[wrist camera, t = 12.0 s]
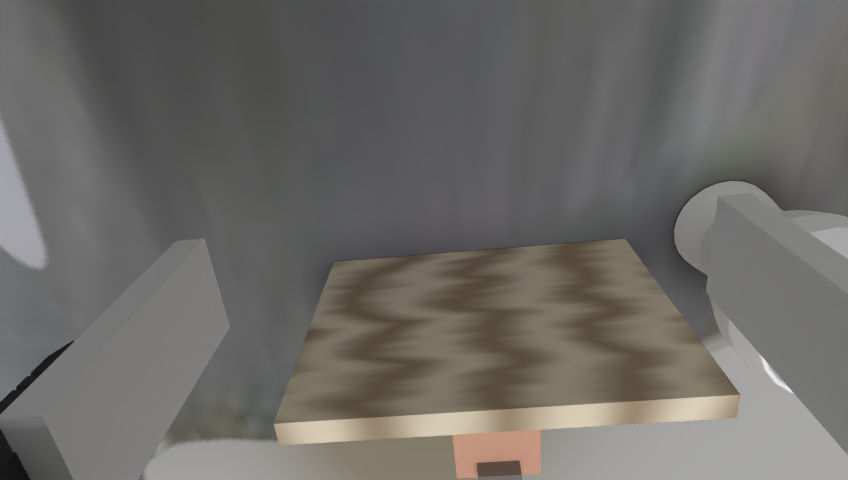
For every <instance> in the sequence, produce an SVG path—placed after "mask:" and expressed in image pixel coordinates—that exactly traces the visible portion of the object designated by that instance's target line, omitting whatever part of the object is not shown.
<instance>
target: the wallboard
mask: <svg viewBox="0 0 848 480" xmlns="http://www.w3.org/2000/svg"><path fill="white" fill-rule="evenodd" d="M739 399H740V394H739V392H738V391H737V390H736V388H735V387H734V386H733V384H732V383H731V382H730V380H729V379H728V377H727V376H726V375H725V373H724V372H723V371H722V369H721V368H720V367H719V365H718V364H717V363H716V361H715V360H714V358H713V357H712V356H711V354H710V353H709V352H708V350H707V349H706V348H705V346H704V345H703V344H702V342H701V341H700V340H699V338H698V337H697V335H696V334H695V333H694V331H693V330H692V329H691V327H690V326H689V325H688V323H687V322H686V321H685V319H684V318H683V317H682V315H681V314H680V312H679V311H678V310H677V308H676V307H675V306H674V304H673V303H672V302H671V300H670V299H669V298H668V296H667V295H666V294H665V292H664V291H663V290H662V288H661V287H660V285H659V284H658V283H657V281H656V280H655V279H654V277H653V276H652V275H651V273H650V272H649V271H648V269H647V268H646V267H645V265H644V264H643V262H642V261H641V260H640V258H639V257H638V256H637V254H636V253H635V252H634V250H633V249H632V248H631V246H630V245H629V244H628V242H627V241H626V240H625V239H615V240H602V241H589V242H577V243H564V244H552V245H539V246H527V247H514V248H501V249H489V250H476V251H464V252H451V253H438V254H426V255H413V256H401V257H388V258H376V259H363V260H350V261H338V262H333V265H332V268H331V270H330V273H329V276H328V278H327V281H326V284H325V287H324V289H323V292H322V295H321V297H320V300H319V303H318V305H317V308H316V311H315V314H314V316H313V319H312V322H311V324H310V327H309V330H308V332H307V335H306V338H305V341H304V343H303V346H302V349H301V351H300V354H299V357H298V359H297V362H296V365H295V368H294V370H293V373H292V376H291V378H290V381H289V384H288V386H287V389H286V392H285V394H284V397H283V400H282V403H281V405H280V408H279V411H278V413H277V416H276V419H275V421H274V427H275V431H276V434H277V438H278V442H279V445H292V444H308V443H325V442H342V441H358V440H375V439H391V438H408V437H425V436H440V435H458V434H475V433H491V432H508V431H524V430H541V429H558V428H574V427H591V426H608V425H624V424H640V423H658V422H674V421H689V420H707V419H724V418H736V417H737V411H738V405H739Z"/></svg>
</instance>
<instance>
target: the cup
mask: <svg viewBox="0 0 848 480" xmlns="http://www.w3.org/2000/svg"><path fill="white" fill-rule="evenodd" d="M748 193H750V194H751V195H753V196H754V197H756V198H757V199H759V200H760V201H762V202H763V203H765V204H766V205H768V206H769V207H771V208H772V209H774V210H775V211H777V212H778V213H780V214H781V215H783V216H784V217H786V218H787V219H789V220H790V221H792V222H793V223H795V224H796V225H798V226H799V227H801V228H802V229H804V230H805V231H807V232H808V233H810V234H811V235H813V236H814V237H816V238H817V239H819V240H820V241H822V242H823V243H825V244H826V245H828V246H829V247H831V248H832V249H834V250H835V251H837V252H838V253H840V254H841V255H843V256H844V257H846V258H847V259H848V218H847V217H844V216H841V215H836V214H830V213H823V212H817V211H803V210H790V211H783V210H781V209H780V208H779V207H778V206H777V205H776V203H775V202H774V201H773V200H772V199H771V198H770V197H769V196H768V195H767V194H766V193H765V192H764V191H762V190H761V189H759V188H758V187H757V186H755V185H752V184H749V183H746V182H743V181H727V182H722V183H717V184H714V185H712V186H710V187H708V188H705V189H703V190H702V191H700V192H699V193H698V194H696V195H695V196H694V197H692V198H691V199H690V200H689V202H688V203H687V204H686V205H685V206H684V207H683V209H682V210H681V212H680V214H679V216H678V218H677V220H676V224H675V229H674V242H675V245H676V247H677V250H678V252H679V253H680V255H681V256H682V257H683V258H684V260H685V261H687V262H688V263H689V264H691V265H692V266H693V267H695V268H696V269H698V270H700V271H701V272H703V273H704V274H706V275H707V276H708V271H709V263H710V255H711V247H712V239H713V231H714V224H715V216H716V208H717V200H718V196H724V195H736V194H748ZM709 298H710V297H709ZM710 302H711V306H712V310H713V313H714V317H715V319H716V322H717V325H718V327H719V330H720V332H721V334H722V335H723V336H724V337H725V339H726V340H727V341H728V342H729V344H730V345H731V346H732V347H733V349H734V350H735V351H736V352H737V353H738V354H739V356H740V357H741V358H742V359H743V360H744V362H745V363H746V364H748V365H749V366H750V367H752V368H753V369H755V370H756V371H758V372H759V373H761V374H762V375H763V376H765V377H766V378H768V379H769V380H771V381H772V382H774V383H775V384H777V385H779V386H780V387H782V388H784V389H785V390H787V391H789V392H790V393H793V392H792V390H791V389H790V388H789V387H788V386H787V385H786V384H785V382H784V381H783V380H782V379H781V378H780V377H779V375H778V374H777V373H776V372H775V371H774V370H773V369H772V367H771V366H770V365H769V364H768V363H767V362H766V361H765V359H764V358H763V357H762V356H761V355H760V354H759V353H758V351H757V350H756V349H755V348H754V347H753V346H752V345H751V343H750V342H749V341H748V340H747V339H746V338H745V337H744V335H743V334H742V333H741V332H740V331H739V330H738V329H737V327H736V326H735V325H734V324H733V323H732V322H731V321H730V319H729V318H728V317H727V316H726V315H725V314H724V313H723V311H722V310H721V309H720V308H719V307H718V306H717V305H716V303H715V302H714V301H713V300H712V299H711V298H710Z"/></svg>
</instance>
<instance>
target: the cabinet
mask: <svg viewBox="0 0 848 480" xmlns="http://www.w3.org/2000/svg"><path fill="white" fill-rule="evenodd" d="M453 444H454V453H455V463H456V472H457V478H473V477H478V480H522V475H526V474H541V430H524V431H508V432H491V433H475V434H458V435H453Z"/></svg>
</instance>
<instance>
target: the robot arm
mask: <svg viewBox="0 0 848 480" xmlns="http://www.w3.org/2000/svg"><path fill="white" fill-rule="evenodd" d="M706 293H707V294H708V295H709V297H710V298H711V299H712V300H713V301H714V302H715V303H716V305H717V306H718V307H719V308H720V309H721V310H722V311H723V313H724V314H725V315H726V316H727V317H728V318H729V319H730V321H731V322H732V323H733V324H734V325H735V326H736V327H737V329H738V330H739V331H740V332H741V333H742V334H743V335H744V337H745V338H746V339H747V340H748V341H749V342H750V343H751V345H752V346H753V347H754V348H755V349H756V350H757V351H758V353H759V354H760V355H761V356H762V357H763V358H764V359H765V361H766V362H767V363H768V364H769V365H770V366H771V367H772V369H773V370H774V371H775V372H776V373H777V374H778V375H779V377H780V378H781V379H782V380H783V381H784V382H785V384H786V385H787V386H788V387H789V388H790V389H791V390H792V392H793V393H794V394H795V395H796V396H797V397H798V398H799V399H800V401H801V402H802V403H803V404H804V405H805V406H806V408H807V409H808V410H809V411H810V412H811V413H812V414H813V416H815V418H816V419H817V420H818V421H819V422H820V423H821V425H822V426H823V427H824V428H825V429H826V430H827V431H828V433H829V434H830V435H831V436H832V437H833V438H834V439H835V441H836V442H837V443H838V444H839V445H840V446H841V448H842V449H843V450H844V451H845V452H846V453H847V454H848V259H847V258H846V257H844V256H843V255H841V254H840V253H838V252H837V251H835V250H834V249H832V248H831V247H829V246H828V245H826V244H825V243H823V242H822V241H820V240H819V239H817V238H816V237H814V236H813V235H811V234H810V233H808V232H807V231H805V230H804V229H802V228H801V227H799V226H798V225H796V224H795V223H793V222H792V221H790V220H789V219H787V218H786V217H784V216H783V215H781V214H780V213H778V212H777V211H775V210H774V209H772V208H771V207H769V206H768V205H766V204H765V203H763V202H762V201H760V200H759V199H757V198H756V197H754V196H753V195H751V194H750V193H748V194H736V195H724V196H718V200H717V208H716V216H715V224H714V231H713V239H712V247H711V255H710V263H709V271H708V279H707V287H706ZM229 328H230V326H229V323H228V319H227V316H226V312H225V309H224V305H223V302H222V298H221V295H220V291H219V288H218V284H217V281H216V277H215V274H214V270H213V267H212V263H211V260H210V256H209V253H208V249H207V246H206V242H205V239H194V240H182V241H176V242H175V243H174V244H173V245H172V246H171V247H170V248H169V249H168V250H167V251H166V252H165V253H164V254H162V255H161V256H160V257H159V258H158V259H157V260H156V261H155V262H154V263H153V264H152V265H151V266H150V267H149V268H148V269H147V270H146V271H145V272H144V273H143V274H142V275H141V276H140V277H139V278H138V279H137V280H136V281H135V282H134V283H133V284H132V285H131V286H130V287H129V288H128V289H127V290H126V291H125V292H124V293H123V294H122V295H121V296H120V297H119V298H118V299H117V300H116V301H115V302H114V303H113V304H112V305H111V306H110V307H109V308H108V309H107V310H106V311H105V312H104V313H103V314H102V315H101V316H100V317H99V318H98V319H97V320H96V321H95V322H94V323H93V324H92V325H91V326H90V327H89V328H88V329H86V330H85V331H84V332H83V333H82V334H81V335H80V336H79V337H78V338H77V339H76V340H75V341H72V342H70V343H69V344H67V345H65V346H64V347H62V348H61V349H59V350H57V351H56V352H54V353H53V354H51V355H49V356H48V357H47V358H46V359H45V360H44V361H43V362H42V363H41V364H40V365H39V366H38V367H36V368H35V369H34V370H33V371H32V372H31V376H27V377H26V378H25V379H24V380H23V381H22V382H21V383H20V384H19V385H18V386H17V387H16V388H17V389H16V390H12V391H11V392H10V393H9V394H8V395H7V396H6V397H5V398H4V399H3V400H2V401H1V402H0V480H138V479H139V477H140V475H141V474H142V472H143V470H144V469H145V467H146V465H147V464H148V462H149V460H150V459H151V457H152V455H153V454H154V452H155V450H156V449H157V447H158V445H159V444H160V442H161V440H162V439H163V437H164V435H165V434H166V432H167V430H168V429H169V427H170V426H171V424H172V422H173V421H174V419H175V417H176V416H177V414H178V412H179V411H180V409H181V407H182V406H183V404H184V402H185V401H186V399H187V397H188V396H189V394H190V392H191V391H192V389H193V387H194V386H195V384H196V382H197V381H198V379H199V377H200V376H201V374H202V372H203V371H204V369H205V367H206V366H207V364H208V362H209V361H210V359H211V357H212V356H213V354H214V353H215V351H216V349H217V348H218V346H219V344H220V343H221V341H222V339H223V338H224V336H225V334H226V333H227V331H228V329H229Z"/></svg>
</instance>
